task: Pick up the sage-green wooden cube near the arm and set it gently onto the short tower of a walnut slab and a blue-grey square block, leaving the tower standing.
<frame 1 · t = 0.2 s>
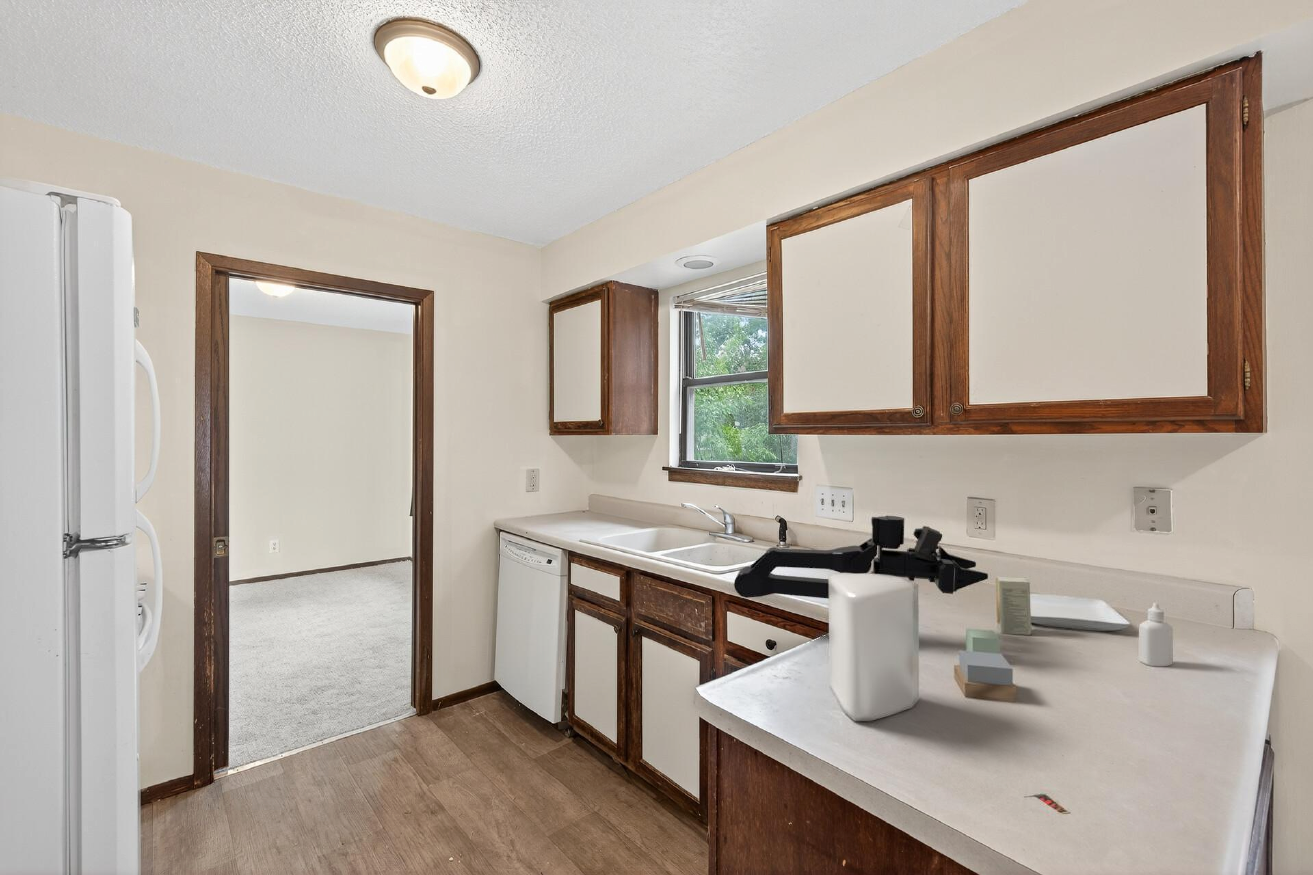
hand: (981, 569, 125), 17 cm above the counter, tool horizontal, fingers open, 9 cm apart
blue-grey square block: (984, 675, 106), point 3 cm above the counter, touching tower base
salad plate: (1063, 620, 144), on the counter
tower base: (983, 692, 106), on the counter, touching blue-grey square block
eye dropper bottle: (1155, 664, 116), on the counter
stack block: (982, 657, 120), on the counter
white triangular prism: (877, 702, 102), on the counter
skincare box: (1013, 632, 135), on the counter
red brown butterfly: (1045, 810, 73), on the counter
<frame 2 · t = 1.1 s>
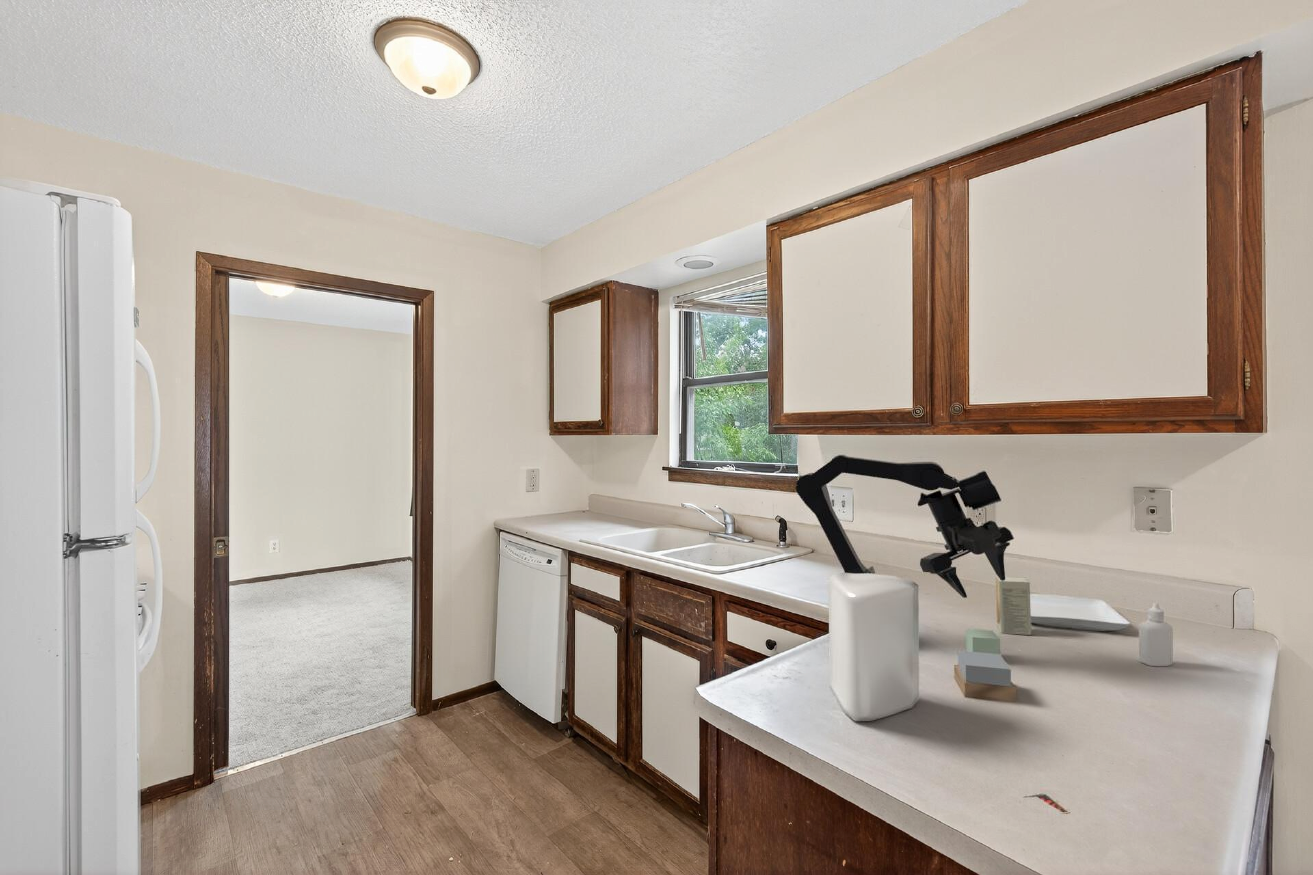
hand: (984, 588, 121), 14 cm above the counter, tool tilted 25°, fingers open, 9 cm apart
nothing on the counter moved.
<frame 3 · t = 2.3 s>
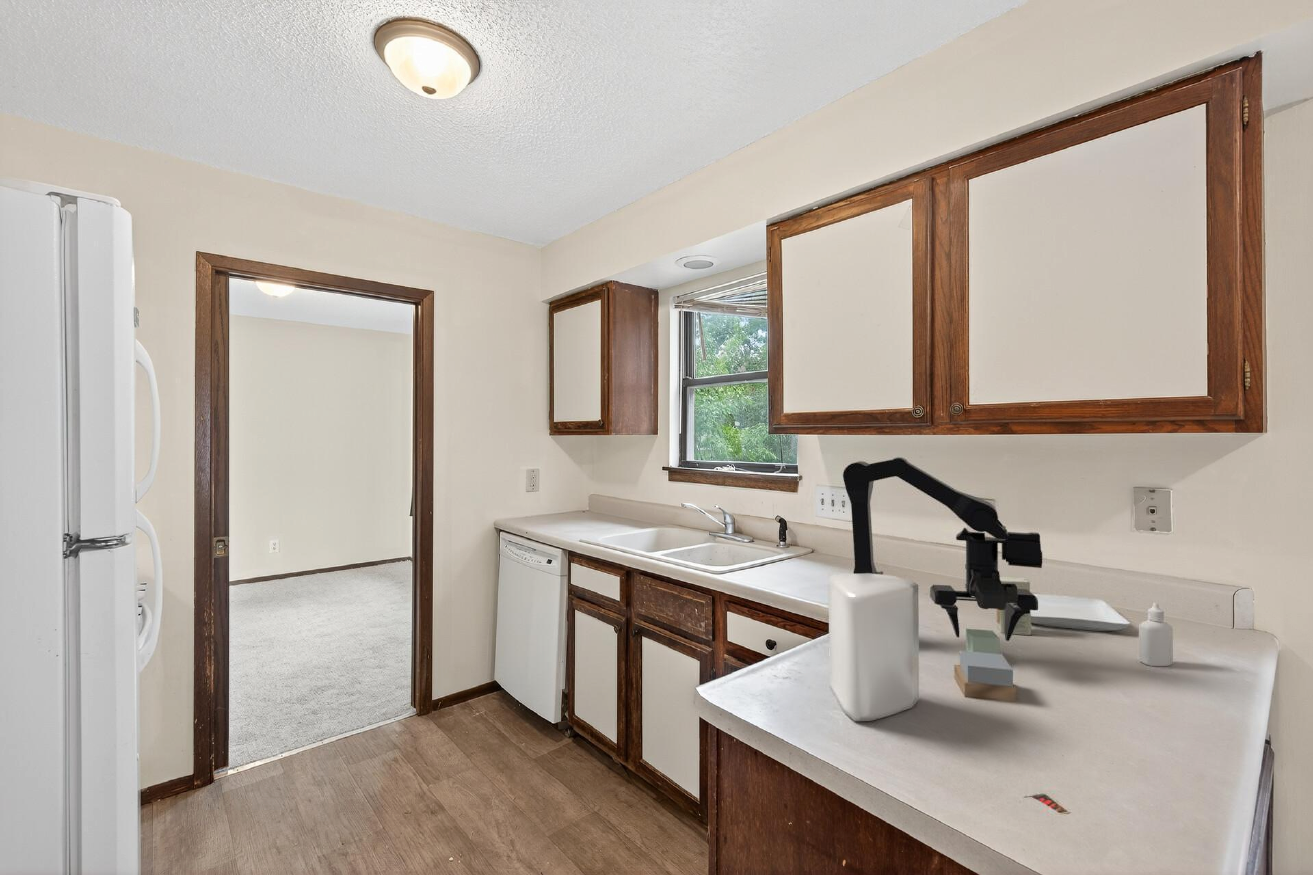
hand: (982, 638, 120), 4 cm above the counter, tool pointing down, fingers open, 9 cm apart
nothing on the counter moved.
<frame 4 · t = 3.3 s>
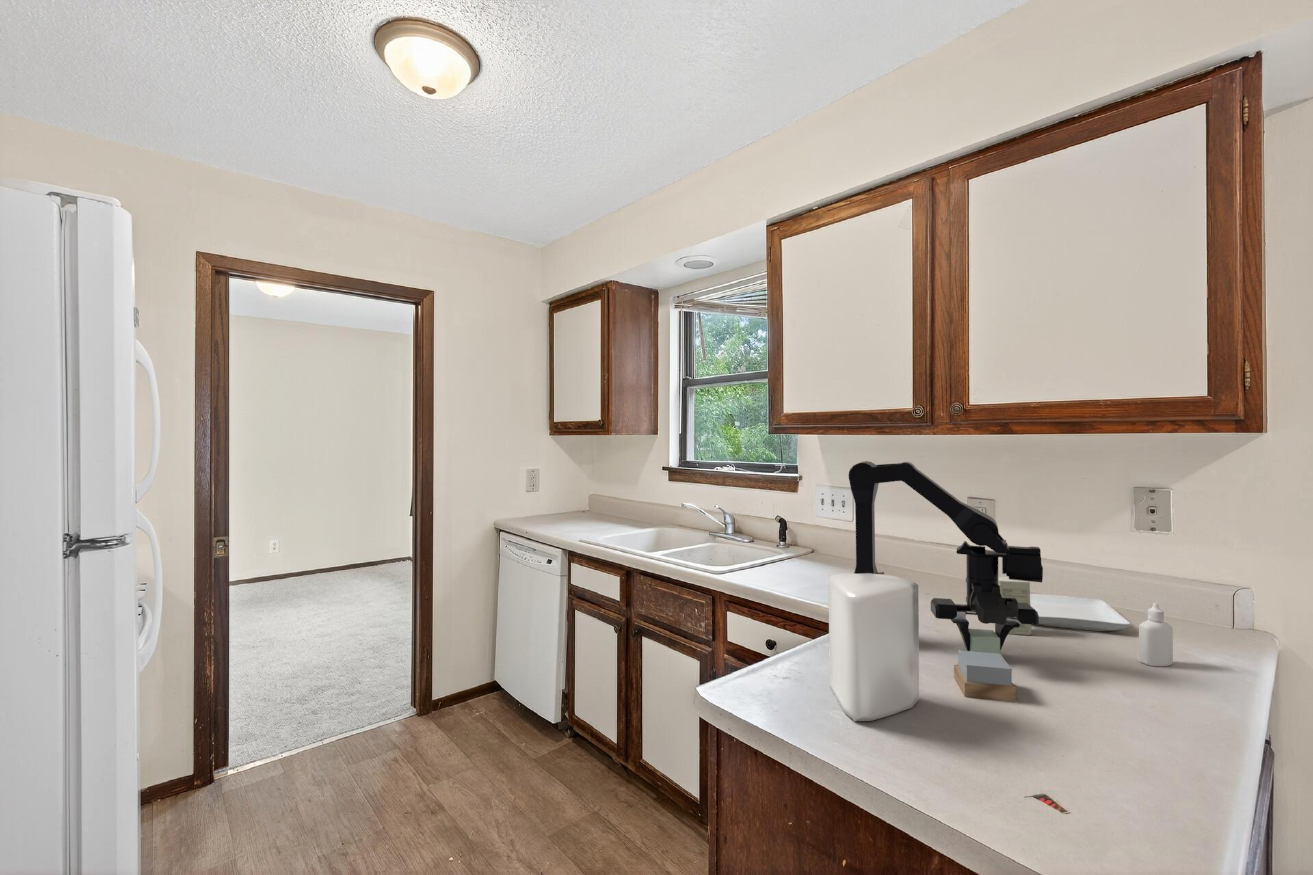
hand: (982, 652, 120), 1 cm above the counter, tool pointing down, fingers closed on stack block, 5 cm apart
stack block: (982, 657, 120), on the counter, touching gripper
everything else where it was.
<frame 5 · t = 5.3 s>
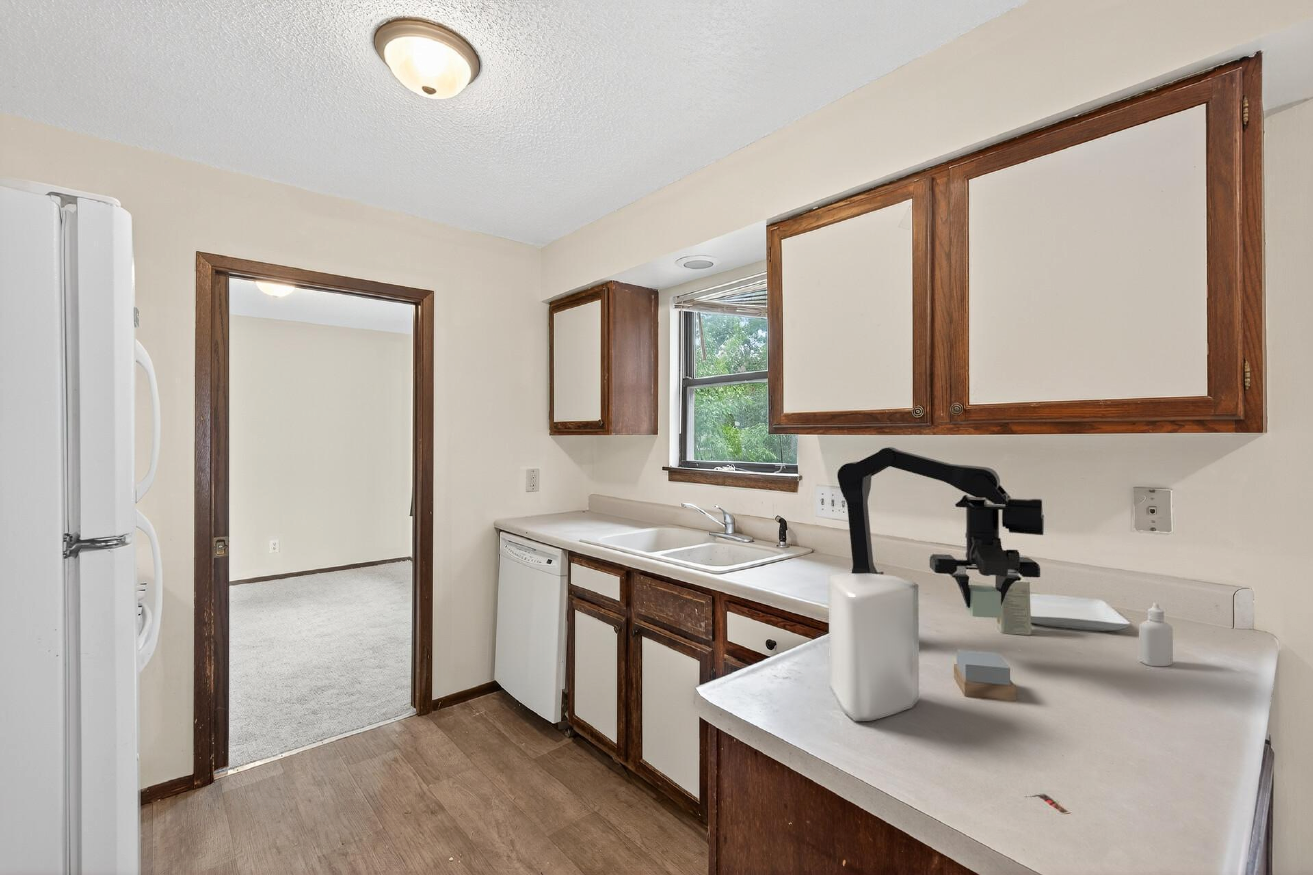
hand: (982, 608, 117), 11 cm above the counter, tool pointing down, fingers closed on stack block, 5 cm apart
stack block: (983, 613, 117), point 10 cm above the counter, touching gripper
everything else where it was.
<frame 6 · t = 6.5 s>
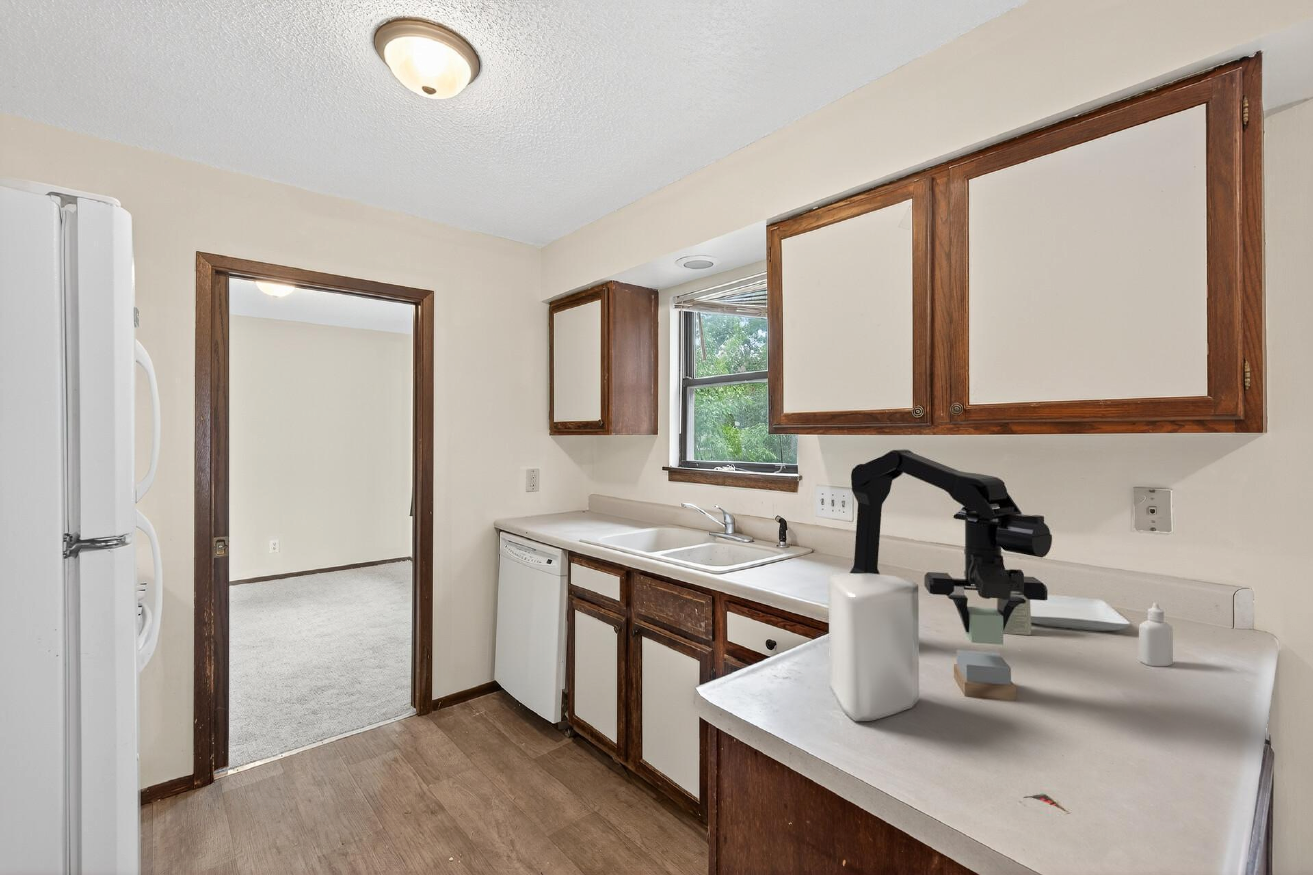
hand: (983, 632, 106), 10 cm above the counter, tool pointing down, fingers closed on stack block, 5 cm apart
blue-grey square block: (982, 674, 106), point 3 cm above the counter
tower base: (983, 691, 106), on the counter
stack block: (983, 638, 106), point 9 cm above the counter, touching gripper
everything else where it was.
when the fingers open (8 cm above the counter, at t = 7.2 s): stack block drops 2 cm, point 6 cm above the counter.
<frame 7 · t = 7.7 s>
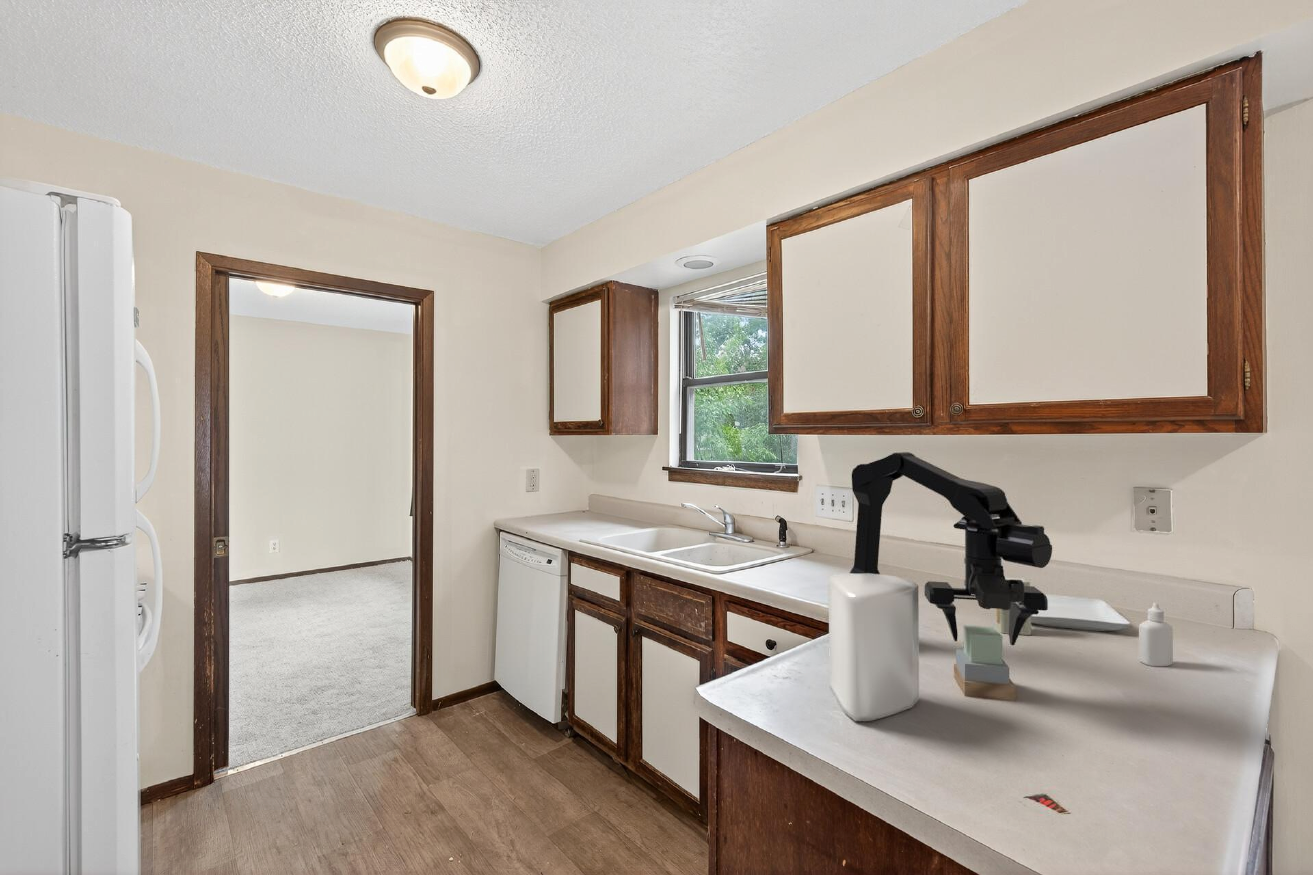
hand: (983, 642, 106), 8 cm above the counter, tool pointing down, fingers open, 9 cm apart
blue-grey square block: (981, 674, 106), point 3 cm above the counter, touching tower base
tower base: (983, 690, 106), on the counter, touching blue-grey square block
stack block: (982, 658, 106), point 6 cm above the counter
everything else where it was.
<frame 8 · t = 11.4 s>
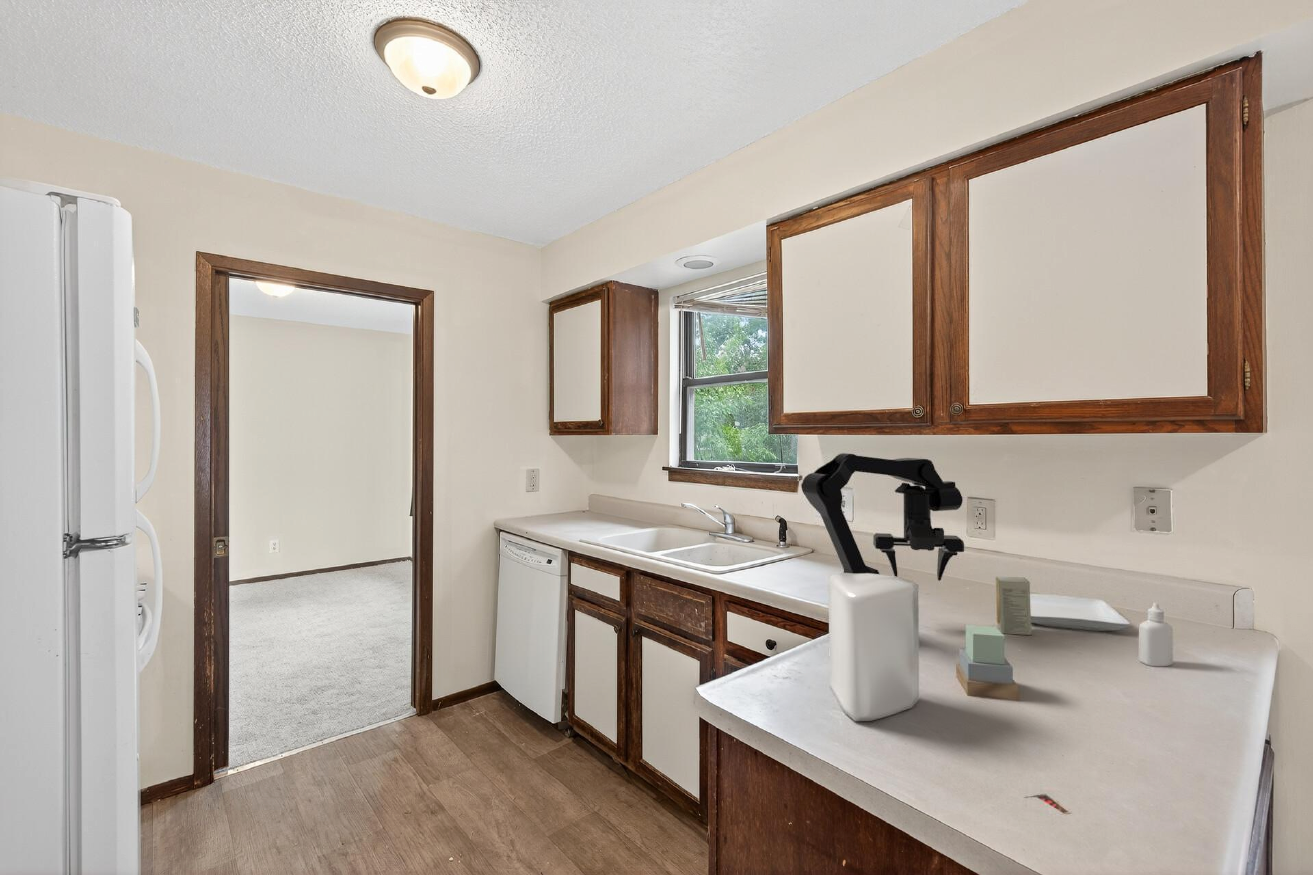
hand: (917, 579, 136), 12 cm above the counter, tool pointing down, fingers open, 9 cm apart
nothing on the counter moved.
at the end: stack block 0.4 cm off-centre on the tower base, point 6.0 cm above the tower base's base; blue-grey square block 0.2 cm off-centre on the tower base, point 3.0 cm above the tower base's base; the gripper is holding nothing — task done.
